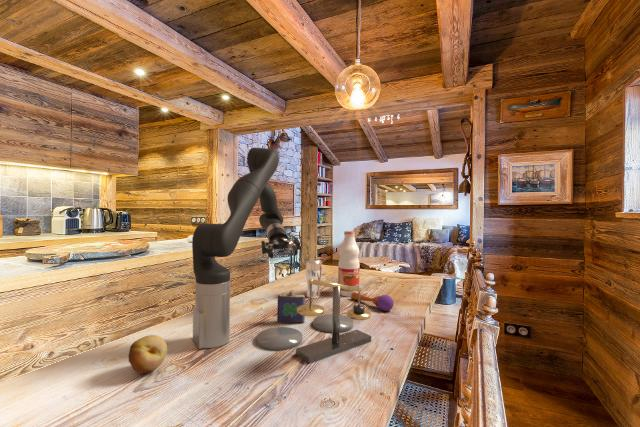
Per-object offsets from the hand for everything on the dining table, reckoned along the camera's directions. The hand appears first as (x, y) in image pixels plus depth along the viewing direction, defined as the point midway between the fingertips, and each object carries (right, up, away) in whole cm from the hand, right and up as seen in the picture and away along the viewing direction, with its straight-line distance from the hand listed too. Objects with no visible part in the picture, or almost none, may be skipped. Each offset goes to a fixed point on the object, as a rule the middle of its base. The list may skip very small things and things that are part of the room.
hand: (283, 254), depth 110 cm
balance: (+17, -22, -25) cm, 38 cm away
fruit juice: (+26, -21, +28) cm, 43 cm away
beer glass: (+10, -21, +24) cm, 33 cm away
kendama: (+33, -22, +13) cm, 42 cm away
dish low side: (+17, -22, -9) cm, 29 cm away
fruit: (-27, -22, -39) cm, 52 cm away
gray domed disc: (+1, -22, -21) cm, 30 cm away
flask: (+3, -22, -7) cm, 23 cm away
